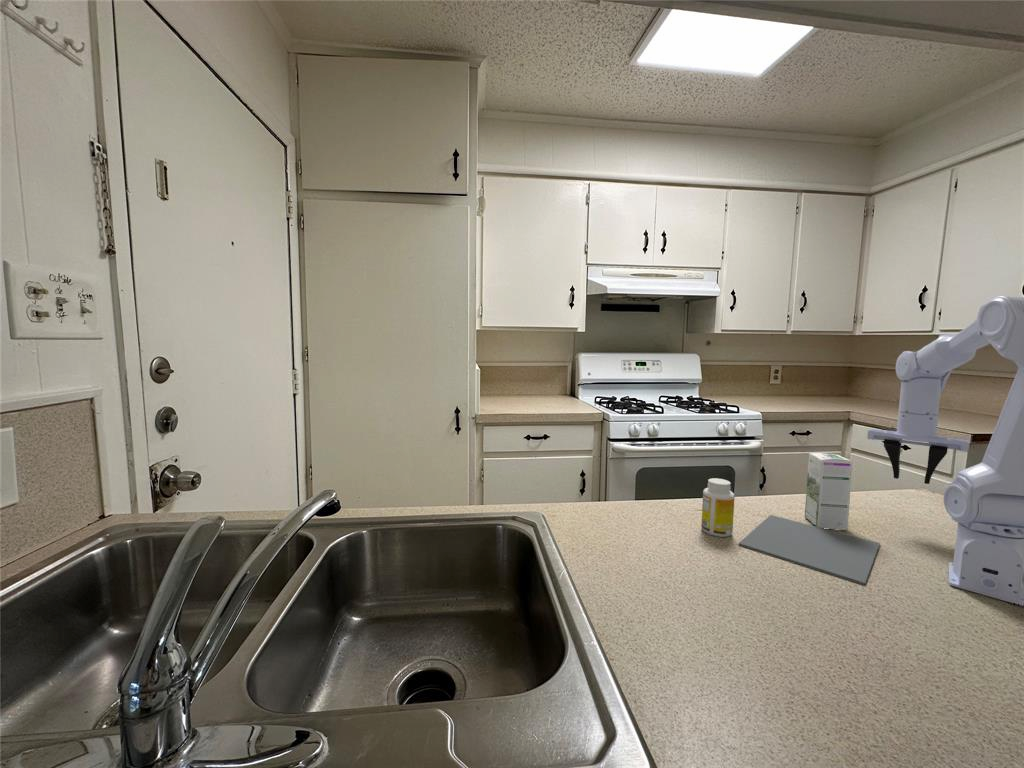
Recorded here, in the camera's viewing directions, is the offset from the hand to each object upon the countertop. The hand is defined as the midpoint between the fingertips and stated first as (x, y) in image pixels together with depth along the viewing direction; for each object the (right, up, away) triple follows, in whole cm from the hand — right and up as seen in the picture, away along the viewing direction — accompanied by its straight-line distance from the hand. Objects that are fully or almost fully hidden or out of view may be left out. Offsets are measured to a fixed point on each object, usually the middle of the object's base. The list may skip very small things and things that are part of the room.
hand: (911, 480), depth 85 cm
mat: (-25, -11, -7) cm, 28 cm away
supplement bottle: (-40, -10, -2) cm, 41 cm away
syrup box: (-15, -10, +3) cm, 18 cm away
